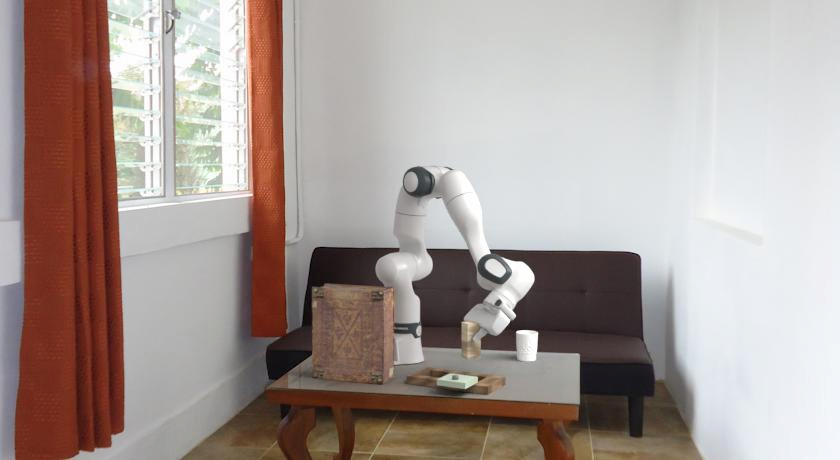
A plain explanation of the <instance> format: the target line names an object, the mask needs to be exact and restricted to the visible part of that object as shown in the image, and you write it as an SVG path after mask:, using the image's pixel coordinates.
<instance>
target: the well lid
mask: <svg viewBox="0 0 840 460" xmlns="http://www.w3.org/2000/svg"><path fill="white" fill-rule="evenodd" d="M476 383H478V377H476V376H468V375H460V374H452V373H449V374H447V375H445V376H443V377H441V378H439V379H437V385H439V386H446V387H454V388H461V389H467V388H468V387H470V386H472V385H474V384H476Z"/></svg>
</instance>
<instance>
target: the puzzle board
mask: <svg viewBox="0 0 840 460" xmlns="http://www.w3.org/2000/svg"><path fill="white" fill-rule="evenodd" d="M449 373H452V374H460V375H468V376H476V377H478V383H476V384H474V385H472V386H470V387H468V388H467V389H461V388H454V387H446V386H439V385H437V379H439V378H441V377H443V376H445V375H447V374H449ZM506 379H507V378H506V376H502V375H493V374H485V373H479V372H471V371H470V372H469V371H463V370H456V369H455V370H454V369H453V370H452V369H447V368H446V369H445V368H438V367H429V366H427V367H424V368H422V369H420V370H417V371H415V372H413V373H410V374H408V375H407V376H406V384H407V385H415V386H419V387H420V386H421V387H428V388H429V387H430V388H437V389H443V390H448V391H449V390H452V391H458V392H463V393H464V392H465V393H472V394H480V395H487V396H488V395H490V394H492V393H493V392H496V391H497V390H498V389H501V388H503V387H504V386H505V385H506V382H507V381H506Z"/></svg>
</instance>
